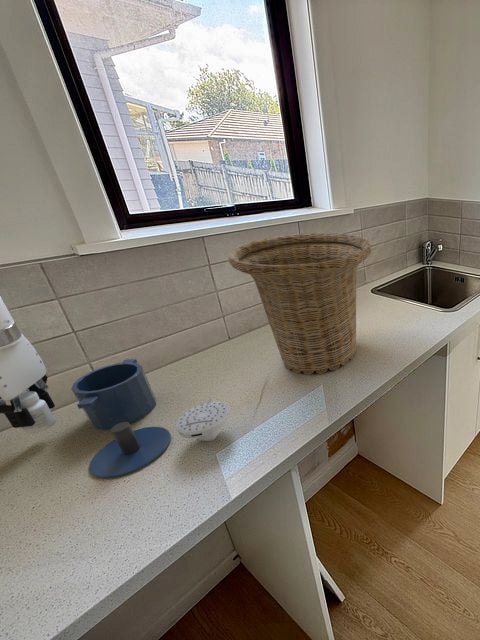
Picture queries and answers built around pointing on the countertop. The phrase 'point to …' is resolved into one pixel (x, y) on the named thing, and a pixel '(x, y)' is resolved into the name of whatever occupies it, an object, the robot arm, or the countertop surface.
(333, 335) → the wicker basket
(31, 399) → the pill bottle
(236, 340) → the countertop surface
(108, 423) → the pot
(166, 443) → the lid
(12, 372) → the robot arm
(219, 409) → the showerhead
